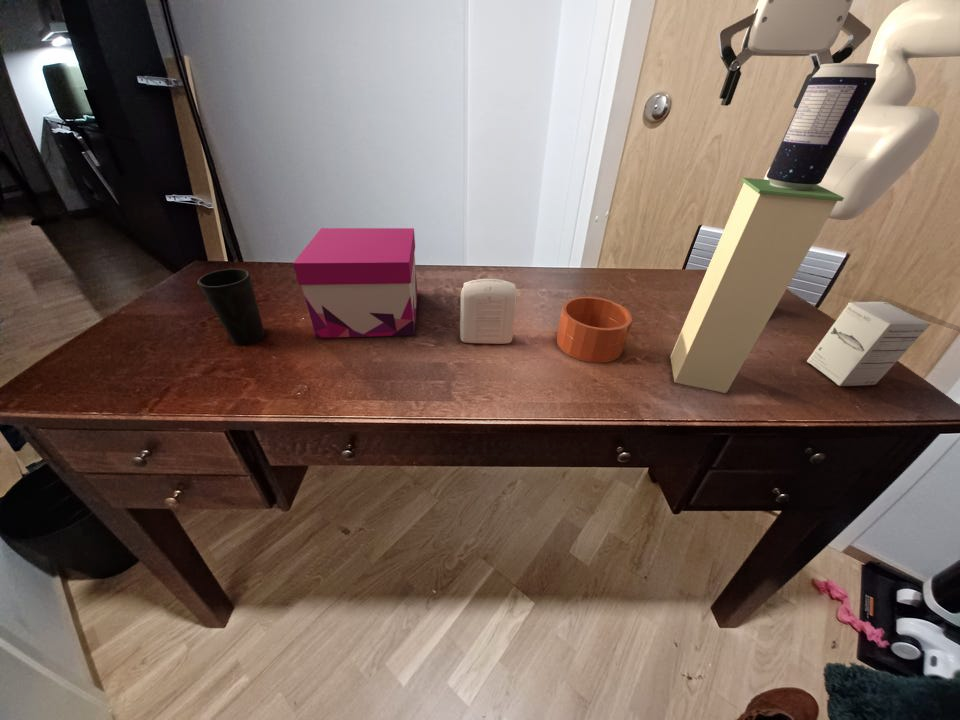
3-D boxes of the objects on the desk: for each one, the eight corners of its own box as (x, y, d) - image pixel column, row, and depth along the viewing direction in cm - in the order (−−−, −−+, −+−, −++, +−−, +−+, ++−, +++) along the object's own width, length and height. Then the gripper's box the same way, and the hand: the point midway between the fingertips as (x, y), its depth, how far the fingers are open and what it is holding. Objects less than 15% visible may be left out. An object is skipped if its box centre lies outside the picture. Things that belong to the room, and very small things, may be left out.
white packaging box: (804, 361, 68) (846, 300, 61) (840, 360, 69) (886, 300, 61) (838, 387, 62) (890, 323, 55) (877, 386, 63) (934, 323, 56)
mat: (813, 186, 49) (815, 183, 48) (842, 201, 42) (844, 197, 42) (741, 180, 51) (742, 177, 50) (758, 193, 44) (759, 190, 44)
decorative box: (415, 336, 71) (408, 262, 62) (314, 339, 69) (292, 263, 60) (418, 292, 86) (413, 228, 77) (335, 294, 84) (321, 228, 75)
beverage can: (826, 193, 43) (898, 63, 36) (774, 189, 44) (834, 62, 37) (802, 183, 48) (862, 66, 41) (755, 180, 49) (806, 65, 42)
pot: (600, 324, 77) (608, 293, 73) (635, 357, 68) (646, 325, 63) (546, 330, 74) (551, 300, 70) (575, 367, 65) (582, 333, 61)
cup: (279, 330, 71) (259, 272, 64) (248, 351, 65) (221, 290, 58) (248, 323, 73) (225, 265, 66) (215, 342, 67) (186, 282, 60)
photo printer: (511, 333, 73) (517, 275, 66) (513, 345, 70) (520, 285, 62) (460, 333, 73) (460, 274, 65) (460, 345, 69) (459, 284, 62)
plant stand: (717, 365, 66) (811, 187, 48) (726, 393, 60) (838, 200, 42) (670, 356, 68) (744, 181, 50) (674, 382, 62) (760, 193, 44)
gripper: (902, -62, 44) (819, 109, 54) (742, -54, 48) (693, 103, 58) (943, -86, 38) (842, 110, 49) (758, -75, 43) (700, 104, 53)
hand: (761, 106), depth 54 cm, fingers open, 9 cm apart
